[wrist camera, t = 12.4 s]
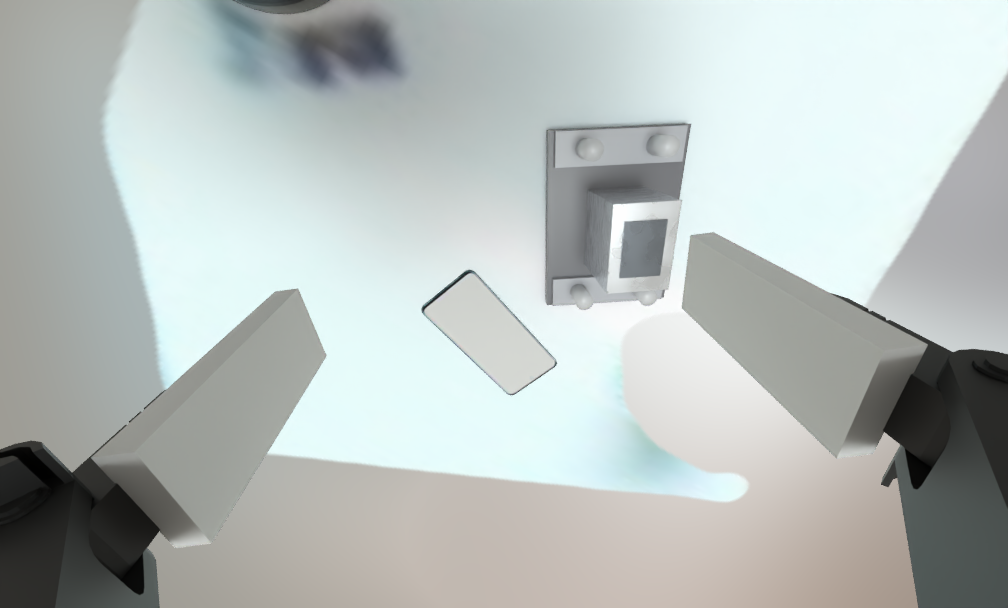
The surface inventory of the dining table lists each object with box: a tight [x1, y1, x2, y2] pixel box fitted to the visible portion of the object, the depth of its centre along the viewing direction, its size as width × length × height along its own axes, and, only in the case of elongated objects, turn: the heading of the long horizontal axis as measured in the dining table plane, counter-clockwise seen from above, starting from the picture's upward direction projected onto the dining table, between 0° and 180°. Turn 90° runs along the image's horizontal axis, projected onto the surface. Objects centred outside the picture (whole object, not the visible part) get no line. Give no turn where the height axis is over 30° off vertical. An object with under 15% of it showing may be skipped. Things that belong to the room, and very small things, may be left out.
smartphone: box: [422, 270, 557, 395], centre depth 40 cm, size 7×1×15 cm
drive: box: [584, 186, 682, 294], centre depth 31 cm, size 7×5×7 cm
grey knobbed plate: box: [546, 124, 691, 310], centre depth 33 cm, size 16×12×4 cm
